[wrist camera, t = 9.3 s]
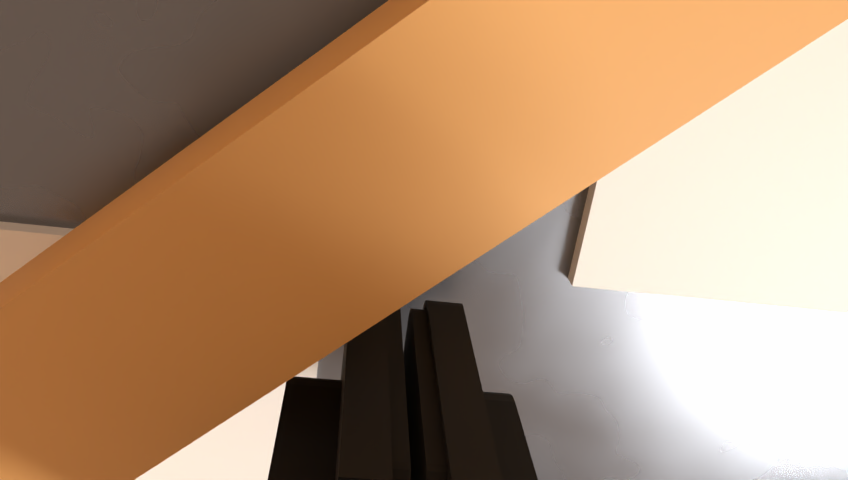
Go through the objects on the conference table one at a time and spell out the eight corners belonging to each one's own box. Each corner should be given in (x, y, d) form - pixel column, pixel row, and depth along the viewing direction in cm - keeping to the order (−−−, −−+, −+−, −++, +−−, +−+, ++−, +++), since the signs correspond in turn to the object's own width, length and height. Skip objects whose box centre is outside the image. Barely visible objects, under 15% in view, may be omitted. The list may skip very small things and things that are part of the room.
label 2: (1012, 23, 12) (1028, 25, 11) (892, 310, 13) (904, 319, 13) (641, -35, 11) (648, -34, 11) (567, 278, 13) (572, 286, 12)
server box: (1072, -316, 13) (1501, -464, 8) (760, 496, 20) (893, 687, 15) (-316, -619, 11) (-922, -1110, 6) (-143, 437, 17) (-351, 646, 12)
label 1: (329, 254, 12) (328, 262, 12) (304, 499, 14) (302, 510, 14) (-66, 214, 12) (-77, 221, 11) (-39, 478, 13) (-48, 490, 13)
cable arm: (1305, -749, 7) (1836, -1128, 5) (1352, -356, 8) (1790, -482, 6) (-167, 346, 10) (-343, 487, 8) (31, 511, 12) (-64, 680, 9)
